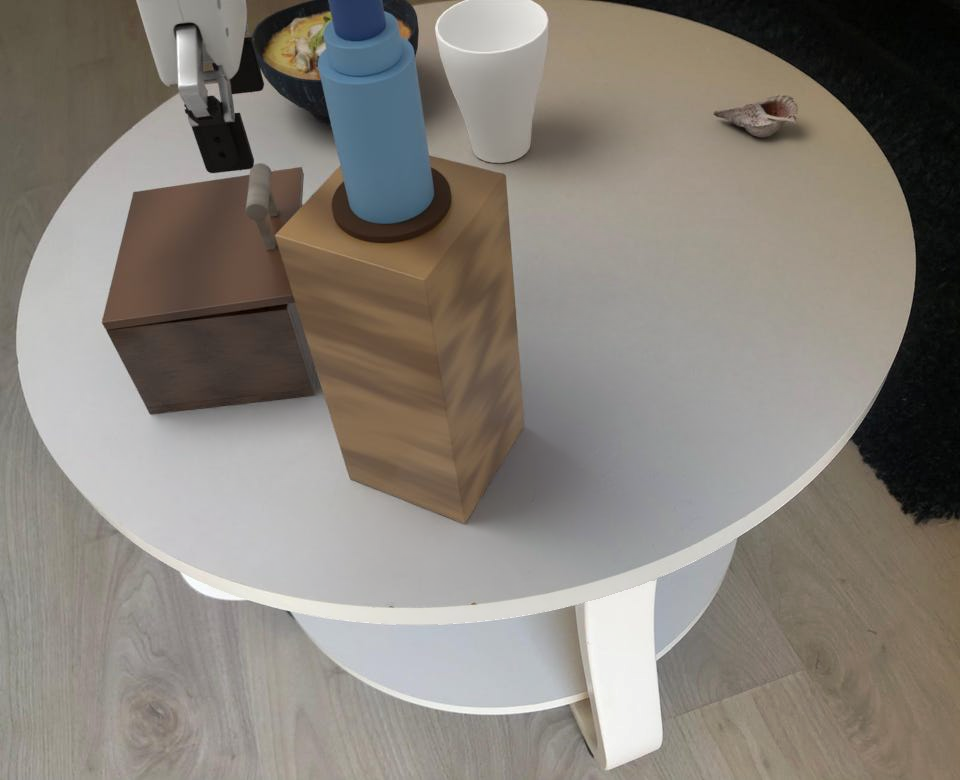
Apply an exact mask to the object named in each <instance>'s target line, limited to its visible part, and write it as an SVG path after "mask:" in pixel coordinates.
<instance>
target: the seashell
mask: <svg viewBox="0 0 960 780" xmlns="http://www.w3.org/2000/svg"><path fill="white" fill-rule="evenodd" d="M798 107H799V106H798V104H797V102H795V101H794V98H793V96H790V95H789V94H782V95H780V94H776V95H773V96H770V97H768V98H765V99H762V100H759V101H757V102H754V103H749V104H745V105H744V106H743V107H739V106H738V107H735V108H731V109H730V108H729V109H724V110H715V111H713V116H715V117H716V118H720V119H724V120H727V121H728V122H730V123H732V124H735V126H737V127H739V128H744V129H745V130H746V132H747V133H749V134H750V135H752V136H754V137H757V138H768V137H771V136H772V135H774V134H775V133H777V132H778V131H779V130H780V129H781V128H782V126H783V125H784V124H785V123H788V124H789V123H790V124H792V125H793V124H794V125H796V121H797V116H796V115H797V114H798V111H799V108H798Z"/></svg>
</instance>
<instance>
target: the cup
mask: <svg viewBox="0 0 960 780" xmlns="http://www.w3.org/2000/svg"><path fill="white" fill-rule="evenodd" d="M549 24H550V20H549V17H548V13H547V12H546V11H545V10H544V8H543V7H542V6H541V5H540V4H538V3H537V2H535V1H533V0H462V1H460V2H458V3H456V4H453V5H452V6H450V7H449V8H447V9H446V10H444V11H443V12H442V14H441V15H440V16H439V17H438V18H437V20H436V23H435V26H434V31H435V38H436V42H437V46H438V47H437V48H438V52H439V57H440V60H441V63H442V66H443V70H444V72H445V75H446V78H447V82H448V84H449V87H450V89H451V91H452V92H451V93H452V94H453V96H454V99H455V101H456V103H457V106H458V108H459V110H460V112H461V116H462V119H463V121H464V124H465V127H466V129H467V134H468V139H469V142H470V148H471V151H472V153H473V154H474V156H475V157H477V158H478V159H479V160H482V161H484V162H488V163H492V164H504V163H510V162H513V161H516V160H518V159H520V158H522V157H524V155H526V154H527V153H528V152H529V150H530V148H531V142H532V129H533V128H532V127H533V119H534V118H533V117H534V114H535V108H536V103H537V100H538V95H539V91H540V87H541V84H542V79H543V74H544V68H545V62H546V57H547V50H548V44H549V26H550V25H549Z"/></svg>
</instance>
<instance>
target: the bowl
mask: <svg viewBox="0 0 960 780" xmlns="http://www.w3.org/2000/svg"><path fill="white" fill-rule="evenodd" d="M382 2H383V8H384V11H385V12H387V13H389V14H391V15H393V16H394V17H395V18H396V20H397V22H398V26H399V32H400V36H401V37H403V38H405V39H406V40H408V41H409V42H410V44H411V45H412V46H413V49H414V54H415V58H416V57H417V52H418V47H419V36H420V35H419V34H420V29H419V20H418V14H417V11H416V9H415V8H414V6H413V5H412V4H411V3H410V2H409V1H408V0H382ZM331 20H332V16H331V11H330V6H329V1H328V0H308V1H303V2H300V3H297V4H295V5H291V6H289V7H286V8H283V9H281V10H278V11H275V12H273V13H272V14H270V15H269V16H266V17H265V18H264V19H263V20H261V21H260V22H259V23H258V24H257V25H256V27H255V28H254V30H253V32H252V35H251V37H252V40H253V44H254V47H255V51H256V55H257V59H258V62H259V66H260V70H261V73H262V76H263V78H265V79H266V81H267V82H268V83H269V85H271V87H272V88H274V90H275V91H276V92H277V93H279V95H280V96H282V97H283V98H284V99H286V100H287V101H289V102H290V103H292V104H293V105H295V106H297V107H299V108H301V109H302V110H305V111H307V112H309V113H311V115H313V117H314V118H315V119H316V120H318V121H319V122H321V123H324V124H327V125H331V122H330V117H329V113H328V108H327V104H326V100H325V95H324V91H323V86H322V82H321V77H320V73H319V69H318V60H319V57H320V55H321V53H322V52H323V51H324V50H325V49H326V46H325V41H324V36H323V33H324V29H325V27H326V25H327V24H328V23H329V22H330V21H331Z"/></svg>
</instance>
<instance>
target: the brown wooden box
mask: <svg viewBox="0 0 960 780" xmlns="http://www.w3.org/2000/svg"><path fill="white" fill-rule="evenodd" d="M303 205H304V204H302V206H303ZM105 331H106V333H107V335H108V337H109V339H110V341H111V343H112V345H113V348H115V350H116V353H117V354H118V356H119V358H120V360H121V362H122V364H123V366H124V368H125V369H126V372H127V373H128V375H129V377H130V379H131V381H132V383H133V385H134V387H135V389H136V391H137V392H138V394H139V396H140V398H141V400H142V402H143V404H144V406H145V408H146V410H147V412H148V414H149V415H153V414H155V415H156V414H162V413H172V412H179V411H180V412H181V411H188V410H197V409H206V408H207V409H208V408H216V407H225V406H234V405H242V404H243V405H244V404H251V403H260V402H268V401H278V400H285V399H294V398H303V397H312V396H315V391H316V390H315V389H316V368H315V365H314V361H313V358H312V355H311V351H310V348H309V345H308V342H307V338H306V335H305V332H304V329H303V325H302V322H301V319H300V316H299V312H298V309H297V306H296V303H289V304H282V305H276V306H269V307H262V308H255V309H248V310H241V311H234V312H227V313H220V314H213V315H206V316H199V317H192V318H185V319H178V320H171V321H164V322H157V323H150V324H144V325H137V326H130V327H123V328H116V329H109V330H106V329H105Z"/></svg>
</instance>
